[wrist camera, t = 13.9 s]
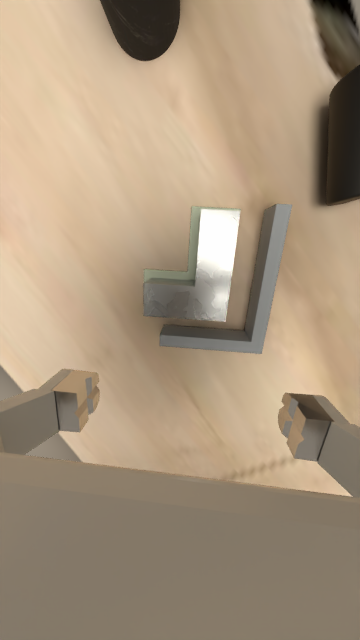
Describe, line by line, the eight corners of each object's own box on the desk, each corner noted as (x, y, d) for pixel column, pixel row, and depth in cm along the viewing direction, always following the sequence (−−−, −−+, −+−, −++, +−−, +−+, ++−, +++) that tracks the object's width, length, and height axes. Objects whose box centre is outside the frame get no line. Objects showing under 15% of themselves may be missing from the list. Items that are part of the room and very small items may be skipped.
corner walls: (253, 341, 32) (261, 353, 28) (163, 334, 32) (159, 345, 28) (277, 211, 26) (292, 204, 22) (168, 205, 26) (163, 198, 23)
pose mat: (225, 316, 31) (226, 317, 30) (144, 310, 31) (143, 310, 31) (240, 209, 26) (240, 208, 26) (144, 204, 27) (143, 203, 26)
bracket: (231, 217, 26) (240, 211, 21) (220, 310, 30) (225, 321, 25) (152, 213, 27) (143, 206, 22) (151, 305, 30) (143, 315, 26)
